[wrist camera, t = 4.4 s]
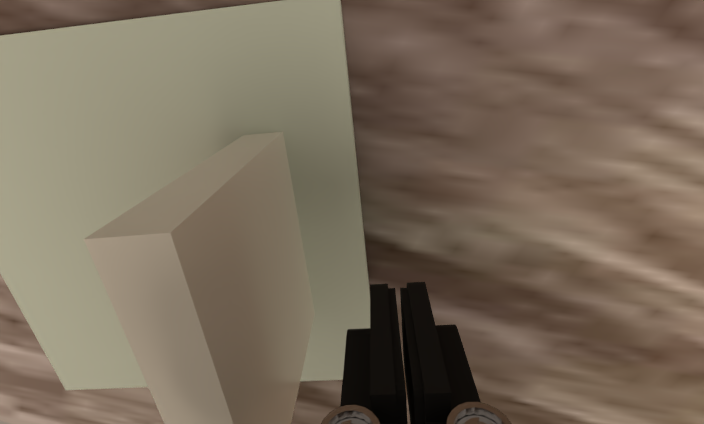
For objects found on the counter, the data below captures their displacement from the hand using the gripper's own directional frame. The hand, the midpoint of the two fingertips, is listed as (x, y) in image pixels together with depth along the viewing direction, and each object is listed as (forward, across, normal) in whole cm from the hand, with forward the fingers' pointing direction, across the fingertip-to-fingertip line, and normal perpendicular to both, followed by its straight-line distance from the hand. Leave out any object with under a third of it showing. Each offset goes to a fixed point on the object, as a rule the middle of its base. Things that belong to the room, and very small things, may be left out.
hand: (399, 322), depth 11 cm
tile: (+7, +5, 0) cm, 9 cm away
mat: (+8, +11, 0) cm, 14 cm away
